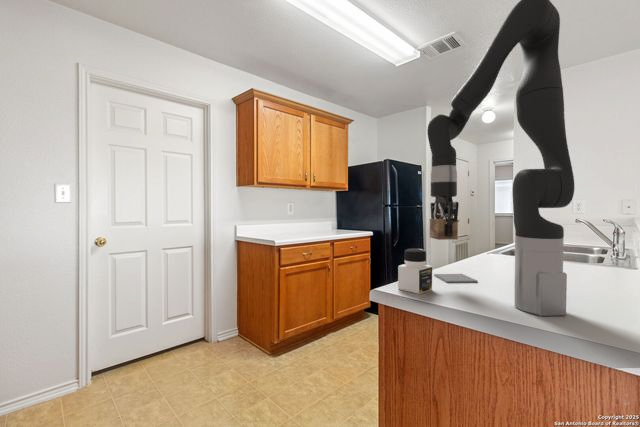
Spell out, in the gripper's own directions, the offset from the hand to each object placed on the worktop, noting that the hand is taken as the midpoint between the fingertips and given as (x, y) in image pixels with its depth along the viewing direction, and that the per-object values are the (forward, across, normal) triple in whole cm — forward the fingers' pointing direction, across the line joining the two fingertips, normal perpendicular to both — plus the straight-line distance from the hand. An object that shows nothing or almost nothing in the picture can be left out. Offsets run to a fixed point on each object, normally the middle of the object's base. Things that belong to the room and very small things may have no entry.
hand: (443, 235), depth 93 cm
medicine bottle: (+16, -4, +10) cm, 19 cm away
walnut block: (+1, 0, 0) cm, 1 cm away
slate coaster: (+15, +7, -8) cm, 19 cm away
